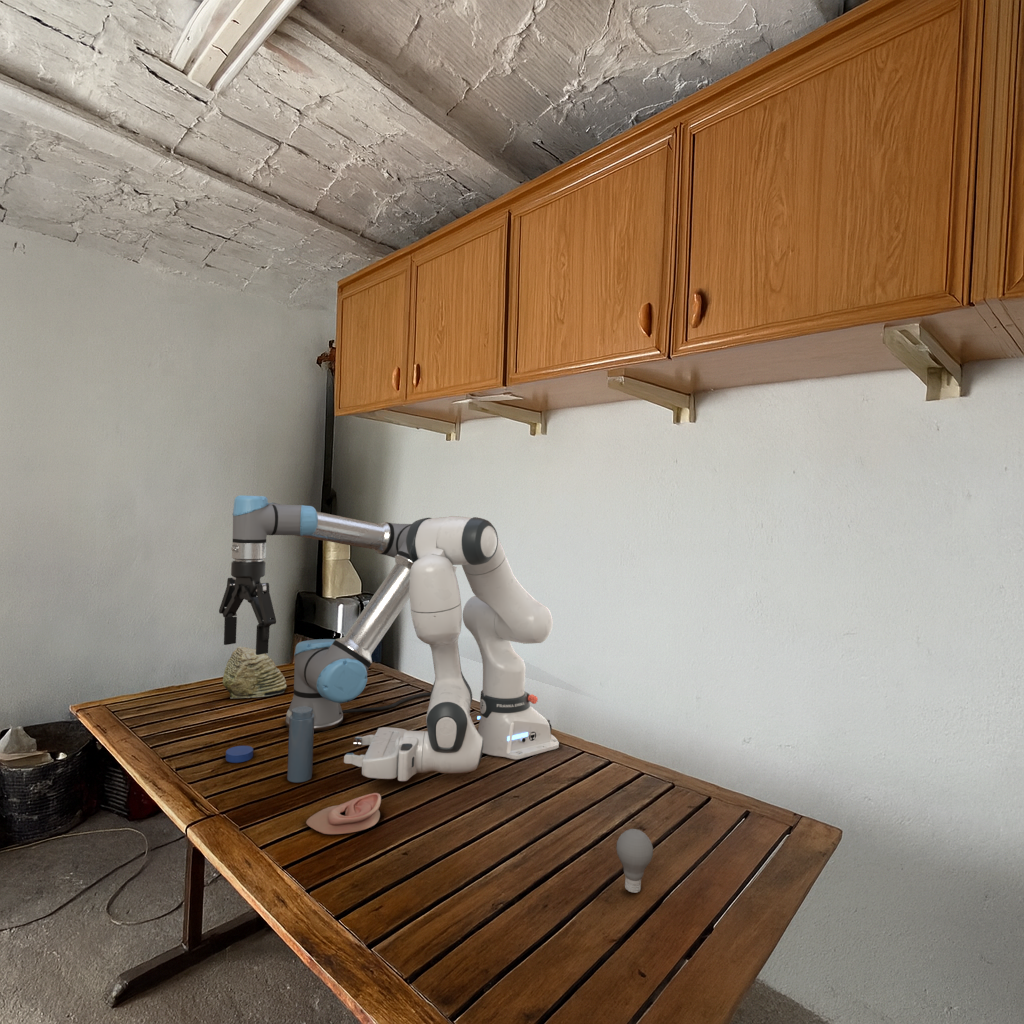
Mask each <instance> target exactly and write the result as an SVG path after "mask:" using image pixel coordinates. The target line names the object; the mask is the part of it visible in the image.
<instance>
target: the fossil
mask: <svg viewBox="0 0 1024 1024" xmlns="http://www.w3.org/2000/svg"><path fill="white" fill-rule="evenodd" d="M222 676H223V677H222V685H223V687H224V688H225V690H226V691H228V693H229V698H230V699H250V698H264V697H271V696H275V695H281V694H284V693H285V691H286V689H287V687H288V686H287V680H286V678H285V676H284V674H283V673H282V672H281V669H279V668H278V667H277V665H276V663H275V662H274V660H273V659H272V658H271V657H270V656H269V655H268V653H266V654H260V655H256V648H251V647H247V646H246V647H245V646H238V647H237V648H236V649H235V650H233V651H232V653H231V656H230V657H229V659H228V660H227V663H226V666H225V668H224V671H223V675H222Z"/></svg>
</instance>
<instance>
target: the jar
mask: <svg viewBox="0 0 1024 1024" xmlns="http://www.w3.org/2000/svg"><path fill="white" fill-rule="evenodd" d="M312 711H313V709H312V708H311V707H306V706H302V707H296V708H294V709H292V715H290V717H289V728H288V741H287V742H288V745H287V746H288V747H287V767H286V768H287V769H286V770H287V771H286V772H287V773H286V779H287V781H288V782H290V783H296V784H297V783H298V784H299V783H305V782H308V781H310V780H311V779H312V778H313V768H314V767H313V766H314V764H313V763H314V743H315V742H314V741H315V740H314V739H315V738H314V737H315V732H314V717H315V715H314V714H313V713H312Z"/></svg>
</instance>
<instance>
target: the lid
mask: <svg viewBox="0 0 1024 1024" xmlns="http://www.w3.org/2000/svg"><path fill="white" fill-rule="evenodd" d="M253 757H254V747H252V746H250V745H237V746H236V745H235V746H232V747H230V748H228V749H226V751H225V761H226V762H228V763H231V764H238V763H244V762H249V760H252V759H253Z"/></svg>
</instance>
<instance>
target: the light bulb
mask: <svg viewBox="0 0 1024 1024" xmlns="http://www.w3.org/2000/svg"><path fill="white" fill-rule="evenodd" d="M615 849H616V854H617V857H618V859H619V861H620V863H621V865H622V867H623V873H624V874H623V875H624V876H625V878H624V888H625V890H627V891H628V892H630V893H634V894H635V893H639V892H640V891H641V889H642V887H641V886H642V879H643V877H644V875H645V871H646V868H647V867H648V866H649V864H650V863H651V861H652V859H653V855H654V847H653V843H652V841H651V838H649V836H648V835H647V834H646V833H645V832H643V831H642V830H641V829H636V828H629V829H627V830H625V831H623V832H622V833H621V834H620V835H619V837H618V839H617V841H616V847H615Z"/></svg>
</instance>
